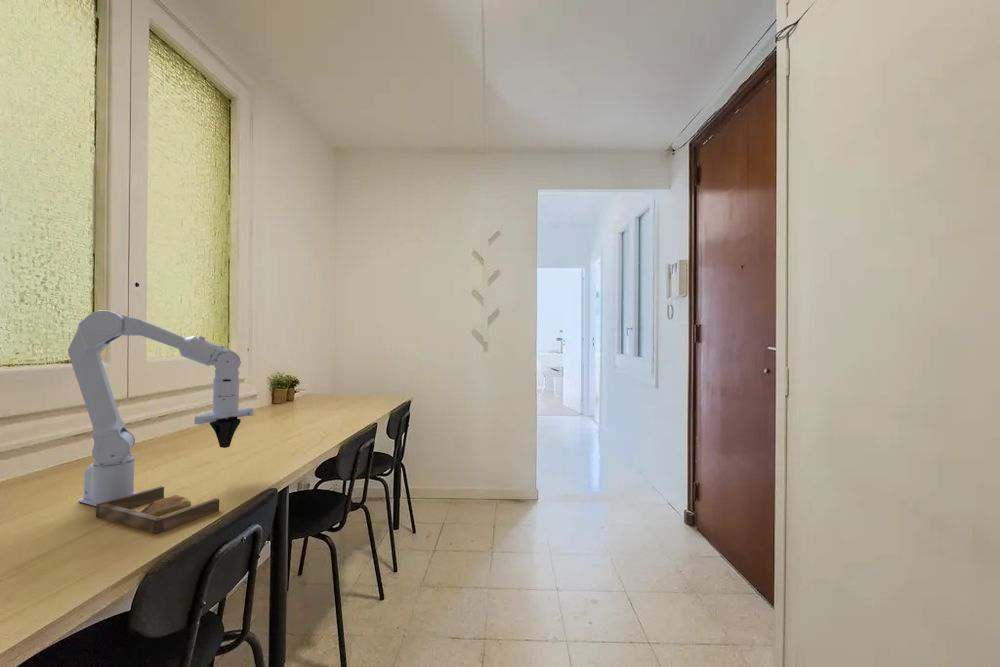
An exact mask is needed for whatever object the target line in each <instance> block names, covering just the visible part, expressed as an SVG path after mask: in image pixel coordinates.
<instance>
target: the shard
mask: <svg viewBox="0 0 1000 667" xmlns="http://www.w3.org/2000/svg"><path fill="white" fill-rule="evenodd" d="M191 504H192V502H191V500H190V499H189V498H187V497H184V496H181V495H177V494H174V495H171V496H168V497H164V498H160V499H157V500H154V501H151V502H149V504H148V505H147V506H145V508H143V509H142V511H140V512H141V513H145V514H149V515H153V516H157V517H158V516H160V515H163V514H165V513H166V514H167V513H169V512H172V511H175V510H178V509H183V508H185V507H188V506H191Z"/></svg>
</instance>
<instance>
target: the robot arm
mask: <svg viewBox="0 0 1000 667" xmlns="http://www.w3.org/2000/svg"><path fill="white" fill-rule="evenodd" d="M121 336H128V337H129V336H138V337H139V336H141V337H144V338H147V339H149V340H153V341H155V342H158V343H161V344H164V345H167V346H169V347H172V348H175V349H178V350H179V353H180V356H181V357H184V358H186V359H189V360H191V361H194V362H196V363H199V364H202V365H205V366H207V367H210V366H214V368H215V370H214V377H213V384H212V385H213V387H212V388H213V389H212V390H213V391H212V412H208V413H204V414H200V415H194V425H204V424H207V423H209V425H210V427H211V428H212V429H213V431H214V433H215V435H216V436H215V437H216V438H217V442H218V445H219V446H218V447H219V448H223V449H226V448H230V446H231V444H232V440H233V438H234V434H235V432H236V430H237V428H238V427H239V425H240V424H241V422H242V421H241V420H242V419H241V418H242V417H249V416H250V417H251V416H252V417H253V416H254V408H252V407H245V408H239V402H240V400H239V399H240V377H239V374H240V371H239V369H240V367H241V365H242V364H241V363H242V361H241V357H240V356H239V355H238V353H236V352H235V351H233V350H231V349H225V348H226V346H225V345H222V344H221V345H218V344H215V343H214V342H210V341H208V340H206V337H204V336H202V335H200V336H196V335H192V336H188V337H183V336H181V335H179V334H177V333H175V332H172V331H170V330H168V329H165V328H162V327H160V326H157V325H155V324H153V323H151V322H148V321H146V320H143V319H140V318H136V317H131V316H127V315H123V314H121V313H118V312H114V311H111V310H104V309H103V310H102V309H101V310H96V311H93V312H91V313H90V314H88V315H87V316H86V317H85V318H83V320H81V321H80V322H79V323H78V325H77V329H76V332H75V334H74V336H73V337H72V338H73V339H72V340H71V342H70V344H69V346H68V349H67V353H68V356H69V360H70V362H71V365H72V368H73V372H74V374H75V377H76V380H77V384H78V386H79V389H80V392H81V396H82V398H83V399H82V400H83V401H84V404H85V407H86V410H87V414H88V417H89V419H90V423H91V425H92V439H93V443H94V444H93V447H92V451H91V454H92V457H93V459H94V460H93V461H92V462H91V463H90V464H89V465H88V466H87V468H86V469H85V471H84V476H83V477H84V480H83V497H82V498H79V499H78V502H79V503H83V504H86V505H91V506H92V507H96V505H97V504H100V503H104V502H107V501H111V500H114V499H118V498H121V497H125V496H128V495H132V494H135V493H138V492H136V491H134V490H135V488H134V487H135V459H136V458H135V457H136V456H135V455H134V454H132V453H131V450H132V448H134V446H135V444H136V436H134V434H133V433H132V432H131V431H129V430H128V429H127V427H126V424H125V422H124V421H123V419H122V417H121V415H120V413H119V409H118V406H117V404H116V400H115V397H114V395H113V391H112V388H111V384H110V382H109V378H108V375H107V372H106V369H105V367H104V362H103V360H102V357H101V353H102V352H103V351H104V350H105V349H106V348H107V347H108V346H109V345H110V343H112V342H113V341H115V340H116V339H118V338H120V337H121Z"/></svg>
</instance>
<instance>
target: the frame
mask: <svg viewBox="0 0 1000 667" xmlns="http://www.w3.org/2000/svg"><path fill="white" fill-rule="evenodd" d="M164 498H165V486H162V485H161V486H157V487H153V488H149V489H146V490H143V491H140V492H137V493H135V494H132V495H128V496H125V497H121V498H118V499H114V500H111V501H107V502H104V503H100V504H97V505H96V506H95V508H96V509H95V517H97V518H100V519H103V520H107V521H110V522H115V523H117V524H122V525H125V526H128V527H132V528H135V529H139V530H141V531H145V532H149V533H153V534H156V535H158V534H160V533H163V532H166V531H168V530H171V529H173V528H176V527H179V526H181V525H182V526H183V525H184V524H186V523H189V522H192V521H195V520H199V519H200V518H204V517H206V516H207V515H211V514H214V513H216V512H219V511H220V498H216V497H215V498H213V499H210V500H206V501H204V502H200V503H198V504H195V505H192V506H189V507H187V508H184V509H183V508H182V509H181V510H178V511H174V512H171V513H170V514H167V515H163V516H158V515H157V516H153V515H149V514H145V513H141V511H137V510H134V509H131V508H134V507H137V506H140V505H144V504H147V503H152V502H154V501H157V500H161V499H164Z"/></svg>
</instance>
